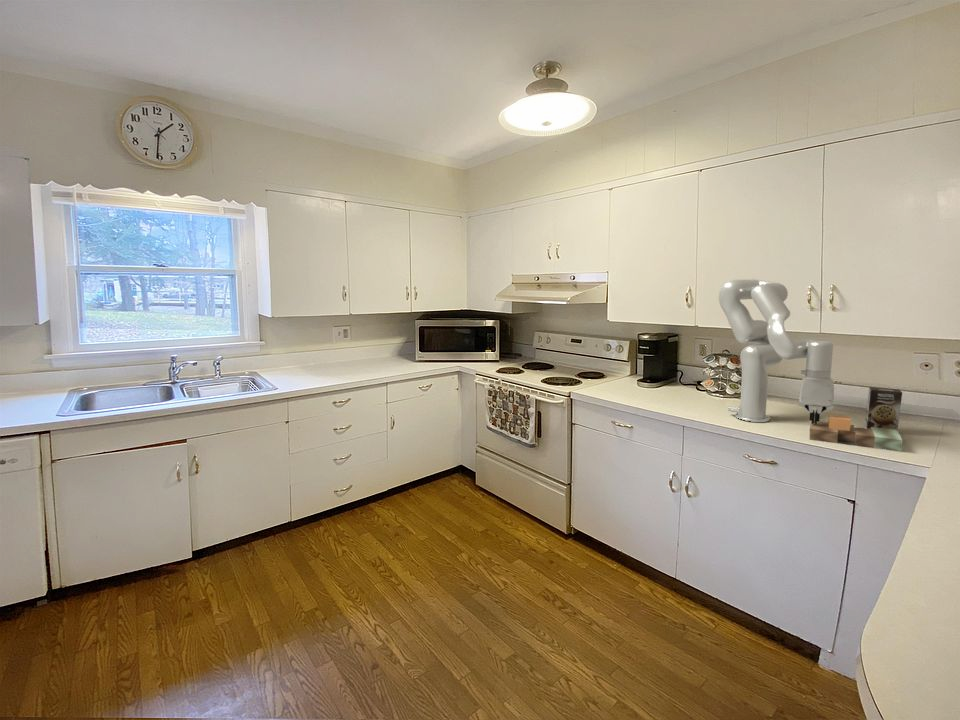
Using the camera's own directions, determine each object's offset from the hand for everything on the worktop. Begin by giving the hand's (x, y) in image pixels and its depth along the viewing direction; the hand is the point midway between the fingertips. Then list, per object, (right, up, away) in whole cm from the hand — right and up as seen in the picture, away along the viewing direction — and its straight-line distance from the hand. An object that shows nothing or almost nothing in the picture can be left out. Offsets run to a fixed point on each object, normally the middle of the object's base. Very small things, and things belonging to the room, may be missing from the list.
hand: (814, 422), depth 174 cm
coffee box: (+28, -4, +4) cm, 29 cm away
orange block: (+6, -1, -4) cm, 7 cm away
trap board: (+10, -5, -6) cm, 12 cm away
